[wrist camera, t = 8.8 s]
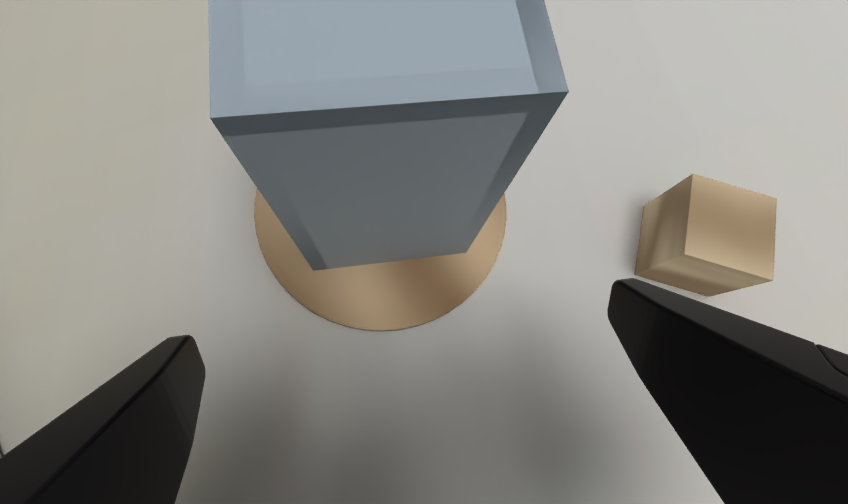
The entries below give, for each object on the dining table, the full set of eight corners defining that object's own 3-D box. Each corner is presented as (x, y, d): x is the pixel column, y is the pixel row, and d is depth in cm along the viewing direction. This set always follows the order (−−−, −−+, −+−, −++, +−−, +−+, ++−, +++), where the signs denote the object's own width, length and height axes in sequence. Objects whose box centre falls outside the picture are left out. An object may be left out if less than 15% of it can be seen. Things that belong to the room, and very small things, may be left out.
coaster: (382, 388, 17) (381, 389, 17) (203, 204, 19) (199, 200, 18) (552, 209, 20) (555, 206, 20) (384, 61, 22) (384, 56, 21)
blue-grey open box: (466, 252, 19) (568, 91, 8) (313, 270, 18) (209, 117, 7) (446, 140, 20) (511, -120, 10) (304, 152, 19) (207, -116, 9)
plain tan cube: (707, 296, 20) (773, 280, 16) (633, 275, 20) (684, 254, 16) (713, 226, 21) (776, 197, 17) (643, 205, 21) (693, 172, 17)
